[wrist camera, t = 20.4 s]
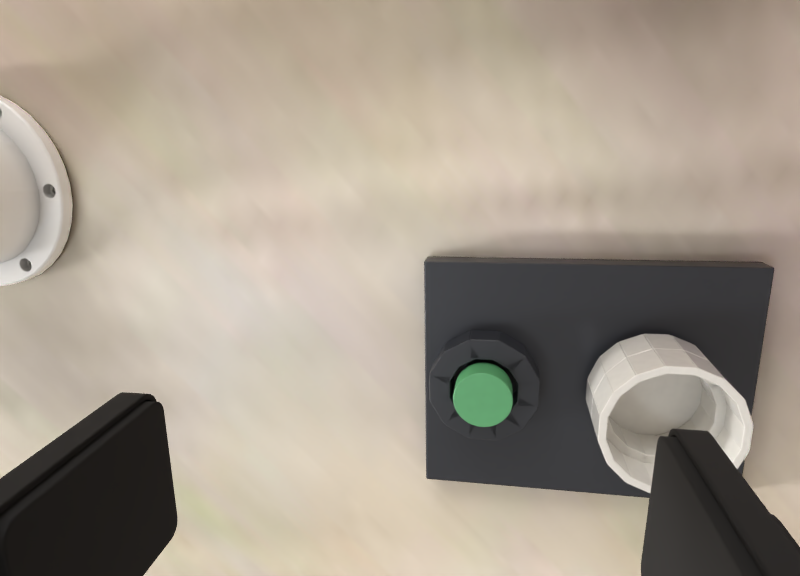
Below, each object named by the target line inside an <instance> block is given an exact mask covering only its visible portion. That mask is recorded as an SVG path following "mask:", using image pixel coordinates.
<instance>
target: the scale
mask: <svg viewBox="0 0 800 576" xmlns="http://www.w3.org/2000/svg"><path fill="white" fill-rule="evenodd" d="M773 273H774V268H773V267H771V266H769V265H767V264H765V263H763V262H720V261H660V260H600V259H541V258H481V257H427V259H426V260H425V262H424V288H425V389H426V478H427V479H437V480H448V481H460V482H472V483H483V484H495V485H506V486H518V487H530V488H541V489H553V490H564V491H576V492H588V493H599V494H611V495H622V496H634V497H646V498H650V493H648V492H646V491H644V490H641V489H639V488H637V487H634V486H632V485H630V484H628V483H626V482H625V481H624V480H623V479H622V478H621V477H620V476H619V475H618V474H616V473H615V472H614V471H613V470H612V469H611V468H610V467H609V466H608V465H607V463H606V461H605V458H604V455H603V453H602V450H601V448H600V445H599V443H598V440H597V436H596V433H595V430H594V426H593V423H592V420H591V416H590V413H589V409H588V406H587V403H586V387H587V378H588V376H589V374H590V372H591V370H592V369H593V367H594V365H595V363H596V361H597V360H598V358H599V357H600V356H601V355H602V354H603V353H605V352H606V351H607V350H608V349H610V348H611V347H612V346H613V345H615V344H616V343H617V342H620V341H623V340H626V339H629V338H632V337H635V336H638V335H641V334H669V335H671V336H675V337H677V338H679V339H682V340H684V341H687V342H689V343H691V344H693V345H695V346H696V347H697V348H698V349H699V350H700V351H701V352H702V353H703V354H704V355H705V356H706V357H707V358H708V359H709V360H710V361H711V362H712V363H713V364H714V365H715V366H716V367H717V369H718V370H719V371H720V372H721V373H722V374H723V375H724V376H725V378H726V379H727V380H728V381H729V382H730V383H731V384H732V385H733V386H734V388H735V389H736V390H737V391H738V392H739V393H740V394H741V395H742V396H743V398H744V399H745V400H746V403H747V406H748V409H749V412H750V415H752V409H753V402H754V396H755V389H756V383H757V376H758V370H759V363H760V357H761V351H762V344H763V338H764V331H765V325H766V318H767V312H768V306H769V299H770V293H771V286H772V280H773ZM480 362H485V363H491V364H494V365H496V366H498V367H500V368H501V369H503V370H504V371H505V372H506V373H507V375H508V376H509V378H510V380H511V383H512V389H513V405H512V409H511V412H510V413H509V415H508V416H507V418H506V419H504V420H503V421H502V422H501V423H499V424H497V425H494V426H490V427H479V426H475V425H472V424H470V423H468V422H466V421H465V420H464V419H462V418H461V417H460V415H459V414H458V413H457V411H456V409H455V407H454V403H453V394H454V389H455V384H456V380H457V377H458V376H459V374H460V373H461V371H462V370H463V369H465V368H466V367H468V366H469V365H472V364H475V363H480ZM744 460H745V459H744ZM744 460H743V462H742V463H741V465H740V466H739V468H738V469H737V470H738V471H739V472H740V474H741V475H742V473H743V467H744Z"/></svg>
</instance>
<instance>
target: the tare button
mask: <svg viewBox="0 0 800 576" xmlns="http://www.w3.org/2000/svg"><path fill="white" fill-rule="evenodd" d="M453 403H454V407H455V409H456V411H457V413H458V414H459V415H460V417H461V418H462V419H464V420H465V421H466V422H468V423H470V424H472V425H475V426H479V427H490V426H494V425H497V424H499V423H501V422H502V421H503V420H504V419H506V418H507V416H508V415H509V413H510V412H511V409H512V405H513V389H512V383H511V380H510V378H509V376H508V375H507V373H506V372H505V371H504V370H503V369H501V368H500V367H498V366H496V365H494V364H491V363H485V362H480V363H475V364H472V365H469V366H468V367H466V368H465V369H463V370H462V371H461V373H460V374H459V376H458V377H457V380H456V384H455V389H454V394H453Z"/></svg>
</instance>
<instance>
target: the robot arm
mask: <svg viewBox="0 0 800 576" xmlns="http://www.w3.org/2000/svg"><path fill="white" fill-rule="evenodd" d="M72 207H73V203H72V195H71V187H70V182H69V179H68V176H67V172H66V169H65V166H64V164H63V161H62V159H61V157H60V155H59V153H58V151H57V149H56V147H55V145H54V144H53V142H52V141H51V139H50V138H49V136H48V135H47V133H46V132H45V130H44V129H43V128H42V127H41V126H40V125H39V124H38V123H37V122H36V121H35V120H34V118H33V117H32V116H31V115H29V114H28V113H27V112H26V111H24V110H23V109H22V108H21V107H19V106H18V105H17V104H15V103H14V102H12V101H10V100H8V99H6V98H4V97H2V96H0V286H5V285H12V284H16V283H19V282H23V281H26V280H29V279H31V278H33V277H36V276H38V275H40V274H41V273H43V272H44V271H45V270H46V269H48V268H49V267H50V266H51V265H52V264H53V263H54V262H55V261H56V259H57V258H58V257H59V255H60V254H61V253H62V250H63V248H64V246H65V244H66V242H67V240H68V236H69V232H70V228H71V224H72ZM176 527H177V511H176V503H175V495H174V487H173V479H172V471H171V463H170V456H169V448H168V440H167V432H166V424H165V416H164V409H163V406H162V404H161V403H159V402H156V399H155V398H154V396H152V395H151V394H140V393H123V392H122V393H120V394H118V395H116V396H115V397H114V398H112V399H111V400H109V401H108V402H107V403H105V404H104V405H102V406H101V407H100V408H98V409H97V410H95V411H94V412H93V413H91V414H90V415H89V416H87V417H86V418H84V419H83V420H82V421H80V422H79V423H77V424H76V425H75V426H73V427H72V428H70V429H69V430H68V431H66V432H65V433H63V434H62V435H61V436H59V437H58V438H56V439H55V440H54V441H52V442H51V443H49V444H48V445H47V446H45V447H44V448H42V449H41V450H40V451H38V452H37V453H35V454H34V455H33V456H31V457H30V458H29V459H27V460H26V461H24V462H23V463H22V464H20V465H19V466H17V467H16V468H15V469H13V470H12V471H10V472H9V473H8V474H6V475H5V476H3V477H2V478H1V479H0V576H143V575H144V574H145V573H146V571H147V570H148V569H149V567H150V566H151V565H152V564H153V562H154V561H155V560H156V558H157V557H158V556H159V554H160V553H161V552H162V551H163V549H164V548H165V547H166V545H167V544H168V543H169V541H170V540H171V539H172V537H173V535H174V533H175V531H176ZM641 576H800V547H799V546H798V544H797V543H796V542H795V540H794V539H793V538H792V536H791V535H790V534H789V532H788V531H787V530H786V528H785V527H784V526H783V524H782V523H781V522H780V521H779V520H778V519H777V518H776V517H775V516H774V515H772V514H770V513H769V512H768V510H767V509H766V507H765V506H764V505H763V503H762V502H761V501H760V499H759V498H758V497H757V495H756V494H755V493H754V491H753V490H752V489H751V487H750V486H749V485H748V483H747V482H746V480H745V479H744V478H743V476H742V475H741V474H740V472H739V471H738V470H737V468H736V467H735V466H734V464H733V463H732V462H731V460H730V459H729V458H728V456H727V455H726V453H725V452H724V451H723V449H722V448H721V447H720V445H719V444H718V443H717V441H716V440H715V439H714V437H713V436H712V435H711V433H710V432H708V431H703V430H688V429H671V430H670V432H669V435H668V436H660V437H659V438H658V441H657V446H656V454H655V462H654V469H653V477H652V485H651V492H650V500H649V507H648V515H647V523H646V530H645V538H644V546H643V553H642V561H641Z"/></svg>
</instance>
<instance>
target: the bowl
mask: <svg viewBox="0 0 800 576" xmlns="http://www.w3.org/2000/svg"><path fill="white" fill-rule="evenodd" d="M586 403H587V406H588V409H589V413H590V416H591V420H592V423H593V426H594V430H595V433H596V436H597V440H598V443H599V445H600V448H601V450H602V453H603V455H604V458H605V461H606V463H607V465H608V466H609V467H610V468H611V469H612V470H613V471H614V472H615V473H616V474H618V475H619V476H620V477H621V478H622V479H623V480H624V481H625V482H626V483H628V484H630V485H632V486H634V487H637V488H639V489H641V490H644V491H646V492H648V493H650V492H651V485H652V477H653V469H654V462H655V454H656V446H657V441H658V438H659V437H660V436H668V435H669V432H670V430H671V429H688V430H703V431H708V432H710V433H711V435H712V436H713V437H714V439H715V440H716V441H717V443H718V444H719V445H720V447H721V448H722V449H723V451H724V452H725V453H726V455H727V456H728V458H729V459H730V460H731V462H732V463H733V464H734V466H735V467H736V468H737V469H738V468H739V466H740V465H741V463H742V462H743V460H744V459H745V457H746V456H747V455H748V453H749V451H750V446H751V440H752V433H753V427H754V426H753V421H752V418H751V415H750V412H749V409H748V406H747V403H746V400H745V399H744V398H743V396H742V395H741V394H740V393H739V392H738V391H737V390H736V389H735V388H734V386H733V385H732V384H731V383H730V382H729V381H728V380H727V379H726V378H725V376H724V375H723V374H722V373H721V372H720V371H719V370H718V369H717V367H716V366H715V365H714V364H713V363H712V362H711V361H710V360H709V359H708V358H707V357H706V356H705V355H704V354H703V353H702V352H701V351H700V350H699V349H698V348H697V347H696V346H695V345H693V344H691V343H689V342H687V341H684V340H682V339H679V338H677V337H675V336H671V335H669V334H641V335H638V336H635V337H632V338H629V339H626V340H623V341H620V342H617V343H616V344H615V345H613V346H612V347H611V348H610V349H608V350H607V351H606V352H605V353H603V354H602V355H601V356H600V357H599V358H598V360H597V361H596V363H595V365H594V367H593V369H592V370H591V372H590V374H589V376H588V378H587V387H586Z"/></svg>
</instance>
